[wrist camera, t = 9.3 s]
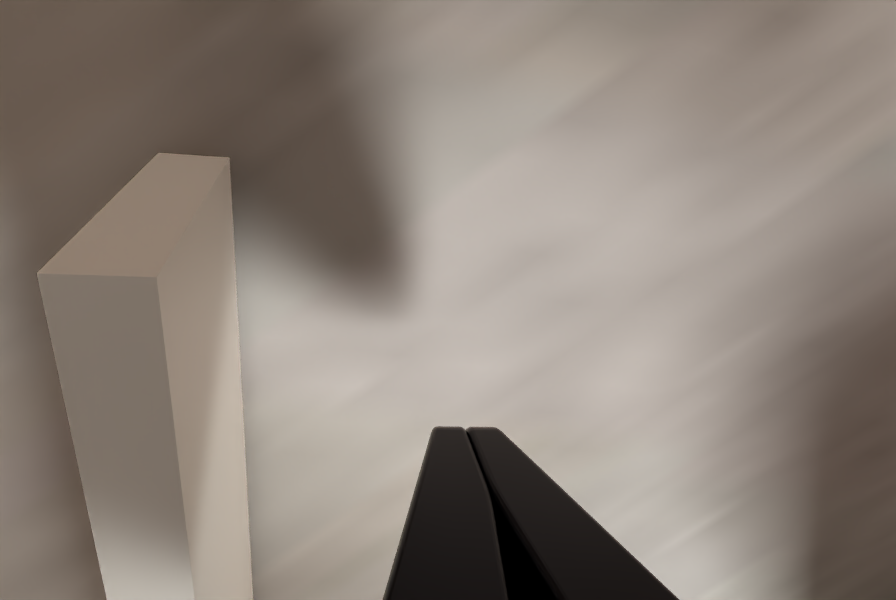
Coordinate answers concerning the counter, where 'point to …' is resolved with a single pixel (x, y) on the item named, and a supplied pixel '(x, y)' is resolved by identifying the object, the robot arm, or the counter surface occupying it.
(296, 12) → the counter surface
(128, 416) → the cover
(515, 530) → the robot arm
